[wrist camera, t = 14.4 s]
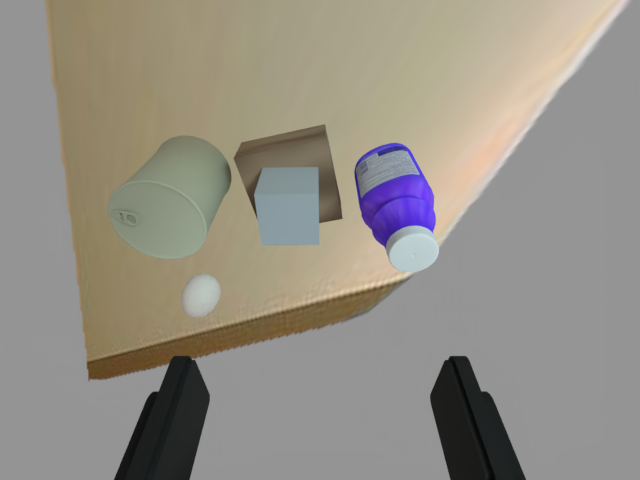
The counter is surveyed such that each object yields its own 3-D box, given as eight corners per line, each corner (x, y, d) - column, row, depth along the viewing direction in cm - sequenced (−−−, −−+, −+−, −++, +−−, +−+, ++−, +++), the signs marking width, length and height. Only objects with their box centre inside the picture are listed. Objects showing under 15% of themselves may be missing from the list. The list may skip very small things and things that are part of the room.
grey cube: (262, 167, 36) (254, 194, 31) (318, 166, 36) (318, 193, 31) (268, 214, 39) (261, 245, 35) (319, 214, 39) (319, 245, 35)
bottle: (363, 195, 43) (385, 291, 29) (345, 158, 40) (360, 246, 26) (417, 171, 41) (468, 263, 27) (403, 131, 38) (452, 210, 24)
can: (153, 126, 38) (97, 171, 28) (235, 145, 39) (208, 195, 30) (156, 195, 43) (109, 253, 33) (228, 210, 45) (203, 270, 35)
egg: (232, 279, 52) (220, 316, 46) (210, 295, 54) (196, 332, 48) (205, 259, 50) (189, 296, 44) (183, 276, 52) (165, 313, 46)
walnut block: (241, 141, 39) (233, 158, 35) (325, 123, 38) (325, 138, 34) (267, 212, 45) (262, 233, 41) (340, 198, 44) (342, 218, 40)
